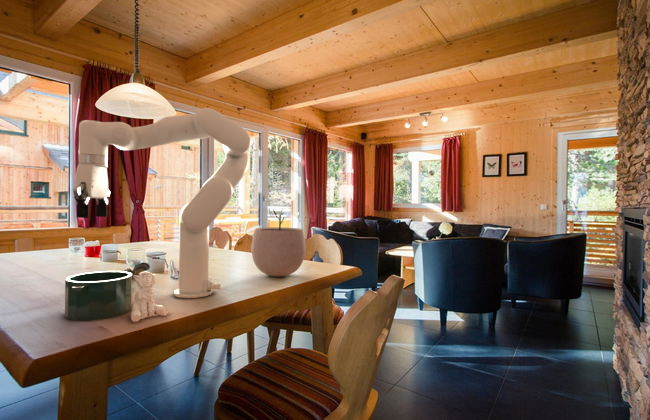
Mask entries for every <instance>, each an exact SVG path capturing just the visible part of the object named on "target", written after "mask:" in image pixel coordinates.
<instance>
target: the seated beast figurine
mask: <svg viewBox="0 0 650 420" xmlns="http://www.w3.org/2000/svg"><path fill="white" fill-rule="evenodd" d="M155 276H156V274H154V273H152V272H151V271H144V272H140V275H139V276H137V275H133V277H134V279H133V280H135V281H136V285H137V286H138V287H139V288H138V289H137V291H136V292H135V295H134V300H133V302H132V304H131V312H130V319H131V321H132V322H133V323H137V322H139V321H140V320H143V319H148V318H152V317H157V316H162V317H163V316H164V317H165V316H167V315H168V313H169V309H168V308H166V307H165V306H164V305H163V304H157V303H156V302H155V300H154V299H155V294H154V291H153V290H154V289H153V286H154V285H155V284H156V279H155Z"/></svg>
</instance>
